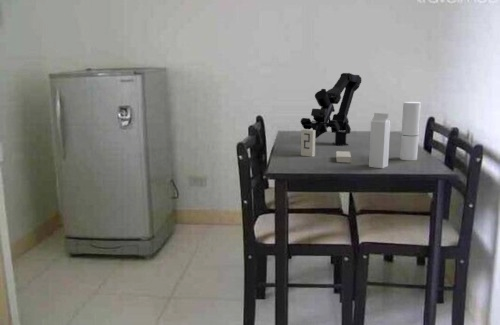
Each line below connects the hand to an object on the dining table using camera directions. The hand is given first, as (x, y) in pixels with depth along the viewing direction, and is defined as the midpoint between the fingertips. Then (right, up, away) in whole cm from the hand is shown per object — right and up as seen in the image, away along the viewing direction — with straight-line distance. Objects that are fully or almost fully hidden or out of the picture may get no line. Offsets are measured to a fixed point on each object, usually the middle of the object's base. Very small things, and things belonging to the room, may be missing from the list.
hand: (313, 138), depth 220 cm
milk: (+23, -13, -26) cm, 37 cm away
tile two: (-3, -8, -2) cm, 9 cm away
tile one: (+12, -7, -7) cm, 16 cm away
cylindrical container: (+41, -10, -12) cm, 43 cm away
